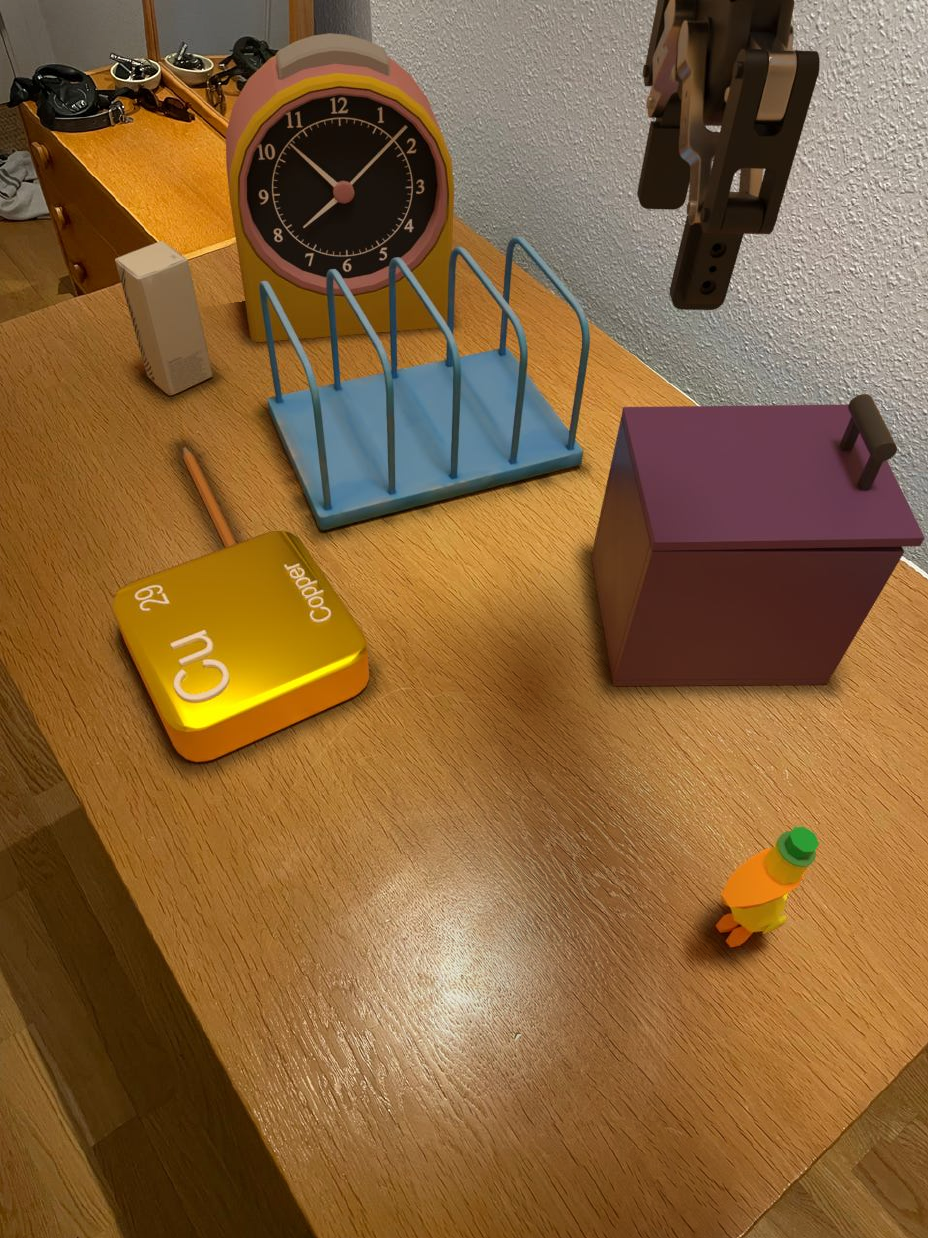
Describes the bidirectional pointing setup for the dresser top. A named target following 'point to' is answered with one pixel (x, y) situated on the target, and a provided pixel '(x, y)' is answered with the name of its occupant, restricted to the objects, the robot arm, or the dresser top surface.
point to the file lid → (768, 477)
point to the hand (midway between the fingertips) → (675, 251)
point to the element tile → (241, 643)
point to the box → (165, 316)
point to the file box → (724, 601)
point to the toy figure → (766, 885)
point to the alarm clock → (338, 189)
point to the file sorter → (421, 412)
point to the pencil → (208, 499)
